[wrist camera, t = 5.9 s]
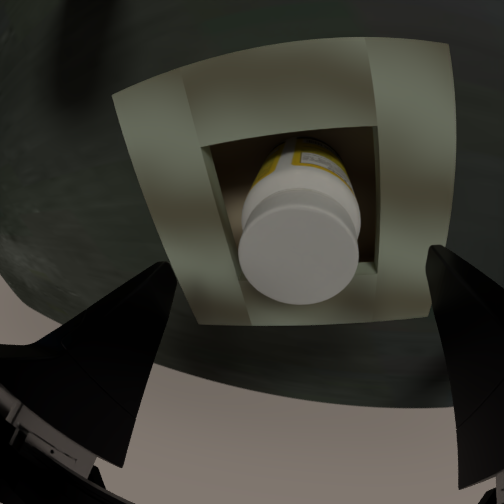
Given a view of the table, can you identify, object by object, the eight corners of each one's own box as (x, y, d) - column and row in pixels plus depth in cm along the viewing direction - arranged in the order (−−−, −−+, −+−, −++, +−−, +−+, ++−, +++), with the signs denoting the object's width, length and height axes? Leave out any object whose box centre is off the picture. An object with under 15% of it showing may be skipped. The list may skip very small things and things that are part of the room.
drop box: (405, 255, 19) (427, 316, 14) (222, 266, 22) (198, 324, 17) (402, 51, 11) (448, 44, 6) (169, 84, 15) (111, 95, 10)
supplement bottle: (276, 217, 18) (249, 318, 11) (252, 145, 15) (201, 212, 9) (352, 202, 16) (374, 303, 9) (335, 126, 14) (360, 179, 7)
